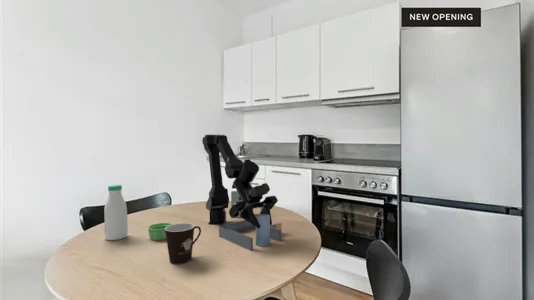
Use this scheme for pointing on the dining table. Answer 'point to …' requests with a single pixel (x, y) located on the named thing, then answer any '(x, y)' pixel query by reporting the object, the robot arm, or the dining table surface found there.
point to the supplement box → (235, 198)
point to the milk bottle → (115, 214)
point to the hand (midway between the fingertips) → (265, 226)
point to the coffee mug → (180, 242)
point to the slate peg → (263, 230)
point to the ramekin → (158, 231)
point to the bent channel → (242, 240)
